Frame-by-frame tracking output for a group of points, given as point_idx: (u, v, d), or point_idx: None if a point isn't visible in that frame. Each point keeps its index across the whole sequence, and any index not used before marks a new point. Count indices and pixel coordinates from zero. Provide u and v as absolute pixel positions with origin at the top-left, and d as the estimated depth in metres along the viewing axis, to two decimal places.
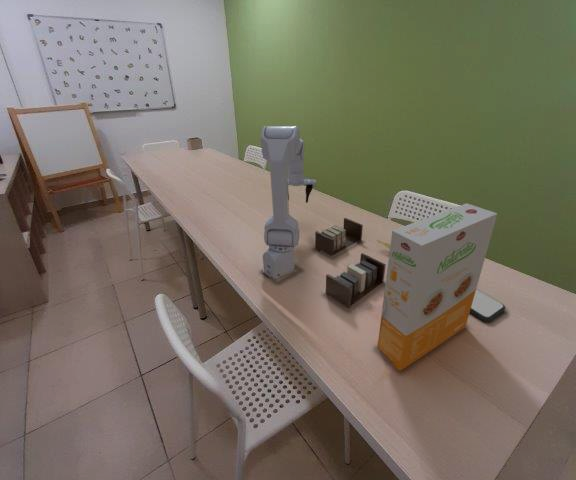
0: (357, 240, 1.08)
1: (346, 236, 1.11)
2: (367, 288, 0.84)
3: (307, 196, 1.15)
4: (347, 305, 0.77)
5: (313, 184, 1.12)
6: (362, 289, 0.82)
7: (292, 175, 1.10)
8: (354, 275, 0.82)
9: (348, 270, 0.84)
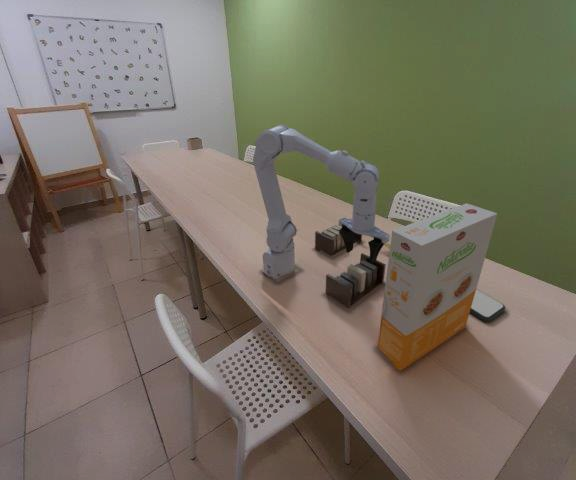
0: (357, 240, 1.08)
1: None
2: (367, 288, 0.84)
3: (371, 254, 0.78)
4: (347, 305, 0.77)
5: (382, 239, 0.74)
6: (362, 289, 0.82)
7: (354, 216, 0.77)
8: (354, 275, 0.82)
9: (348, 270, 0.84)
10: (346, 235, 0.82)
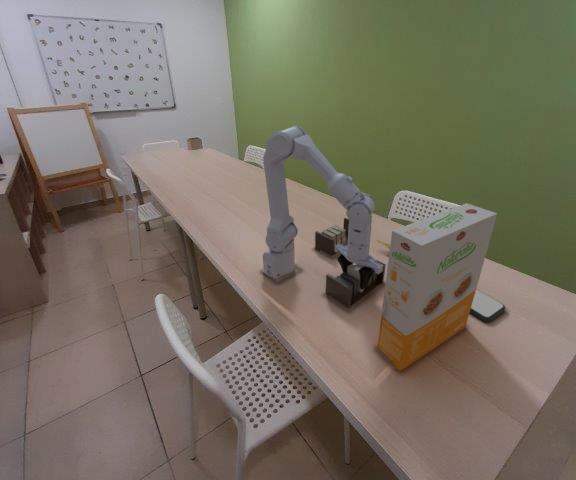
0: None
1: (346, 236, 1.11)
2: (367, 288, 0.84)
3: (362, 281, 0.79)
4: (347, 305, 0.77)
5: (376, 270, 0.75)
6: None
7: (349, 246, 0.78)
8: (354, 275, 0.82)
9: (347, 270, 0.84)
10: (344, 263, 0.82)
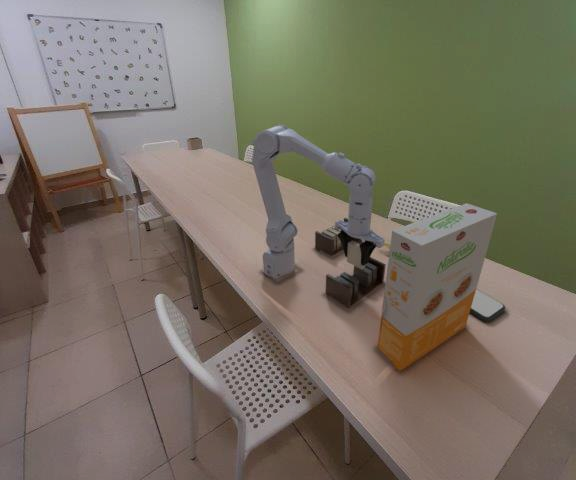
0: (357, 240, 1.08)
1: None
2: (367, 288, 0.84)
3: (362, 256, 0.78)
4: (347, 305, 0.77)
5: (377, 244, 0.74)
6: (363, 266, 0.81)
7: (349, 220, 0.76)
8: (355, 251, 0.80)
9: (348, 247, 0.82)
10: (345, 239, 0.81)
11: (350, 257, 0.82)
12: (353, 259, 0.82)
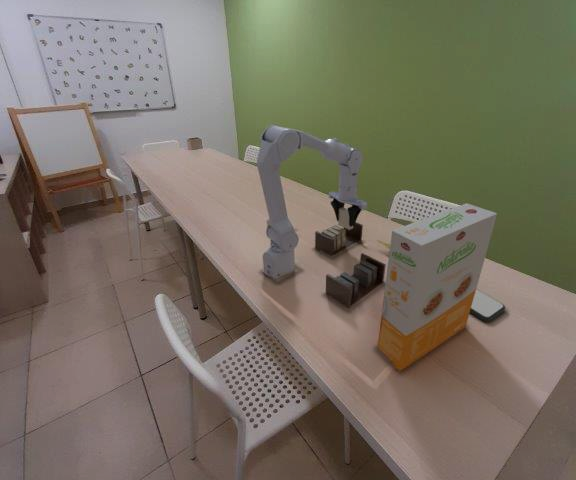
0: (357, 240, 1.08)
1: (346, 236, 1.11)
2: (367, 288, 0.84)
3: (350, 218, 0.97)
4: (347, 305, 0.77)
5: (361, 207, 0.93)
6: (351, 227, 1.00)
7: (339, 188, 0.95)
8: (344, 215, 1.00)
9: (339, 212, 1.01)
10: (336, 206, 1.00)
11: (341, 221, 1.02)
12: (343, 222, 1.01)
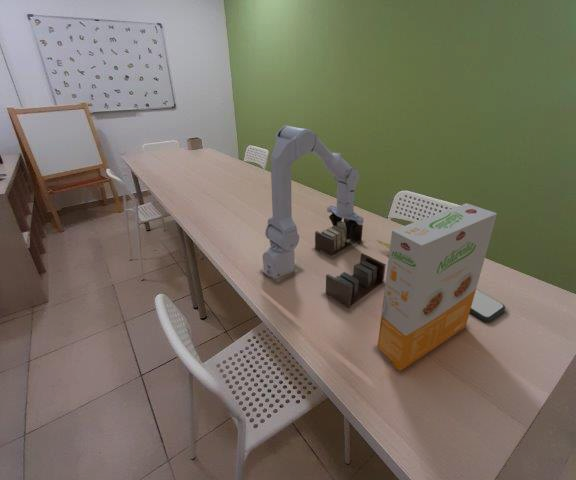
0: (357, 240, 1.08)
1: None
2: (367, 288, 0.84)
3: (348, 232, 1.03)
4: (347, 305, 0.77)
5: (358, 221, 0.99)
6: (348, 240, 1.06)
7: (337, 204, 1.01)
8: None
9: None
10: (334, 220, 1.05)
11: None
12: None
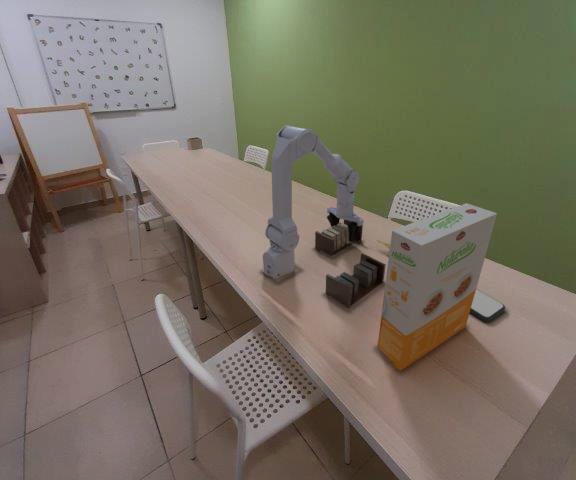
0: (357, 240, 1.08)
1: None
2: (367, 288, 0.84)
3: (350, 234, 1.02)
4: (347, 305, 0.77)
5: (358, 223, 0.99)
6: (348, 241, 1.06)
7: (337, 205, 1.01)
8: None
9: None
10: (332, 220, 1.06)
11: None
12: None
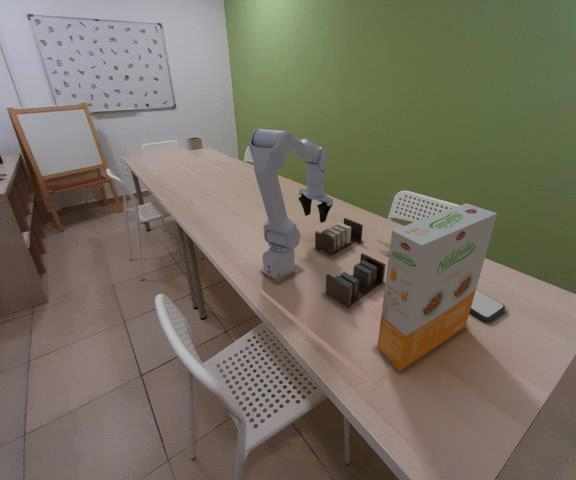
0: (357, 240, 1.08)
1: None
2: (367, 288, 0.84)
3: (320, 215, 1.01)
4: (347, 305, 0.77)
5: (327, 202, 0.98)
6: (348, 241, 1.06)
7: (307, 185, 1.00)
8: None
9: None
10: (303, 201, 1.06)
11: None
12: None
